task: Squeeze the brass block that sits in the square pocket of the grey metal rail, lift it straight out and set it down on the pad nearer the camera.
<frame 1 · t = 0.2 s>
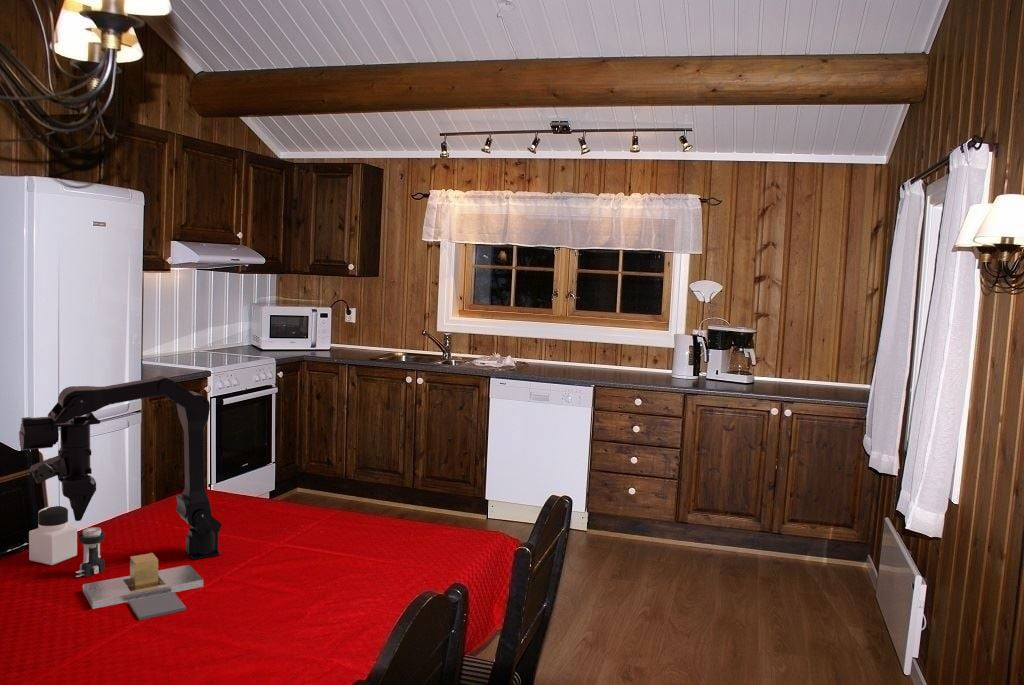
hand: (76, 514, 179), 14 cm above the table, fingers open, 9 cm apart
rail: (144, 589, 176), on the table
push button: (89, 574, 182), on the table
medicine bottle: (53, 558, 190), on the table
brass block: (144, 573, 175), in the rail
pad: (157, 606, 168), on the table
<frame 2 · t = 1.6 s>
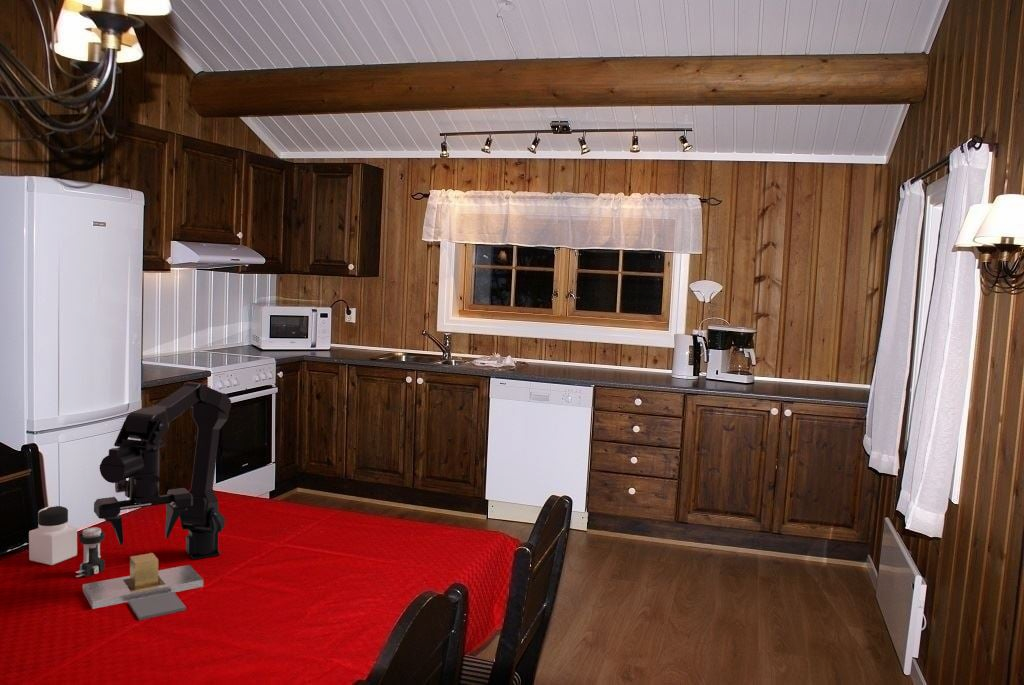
hand: (144, 541, 175), 11 cm above the table, fingers open, 9 cm apart
nothing on the table moved.
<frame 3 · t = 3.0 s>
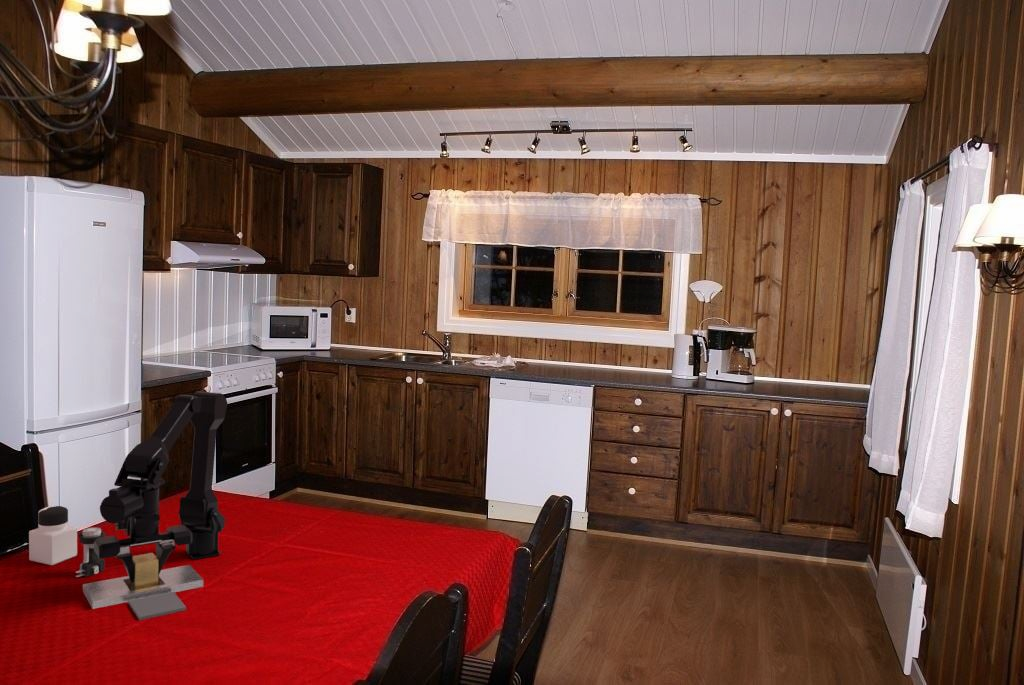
hand: (144, 579, 176), 2 cm above the table, fingers closed on brass block, 5 cm apart
brass block: (144, 573, 175), in the rail, touching gripper
everything else where it was.
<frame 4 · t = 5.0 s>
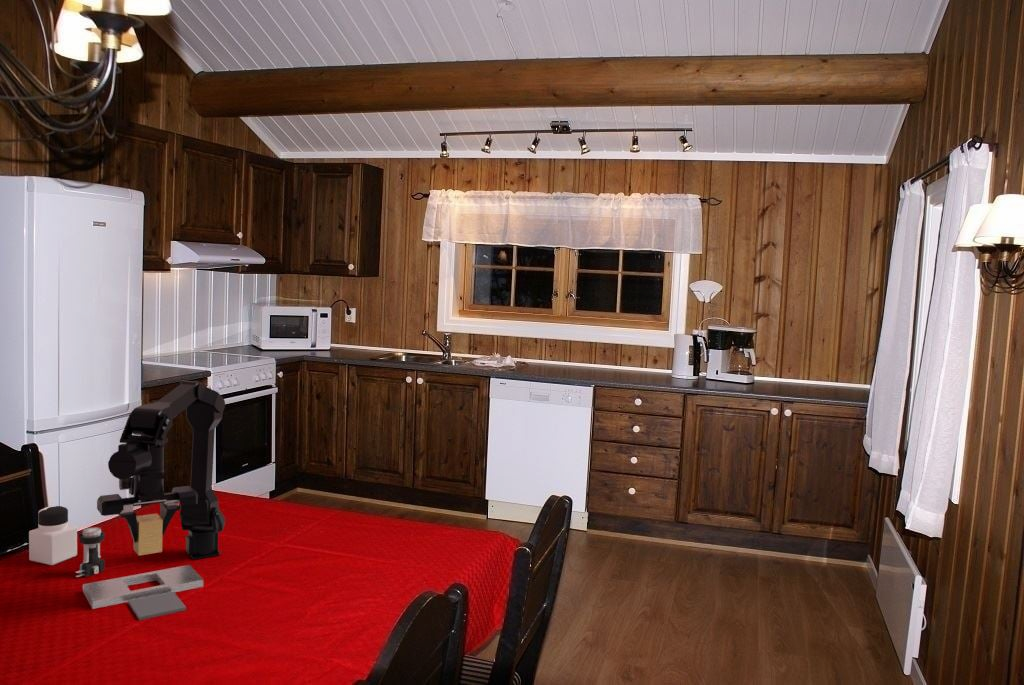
hand: (147, 540, 171), 12 cm above the table, fingers closed on brass block, 5 cm apart
brass block: (148, 534, 171), point 14 cm above the table, touching gripper
everything else where it was.
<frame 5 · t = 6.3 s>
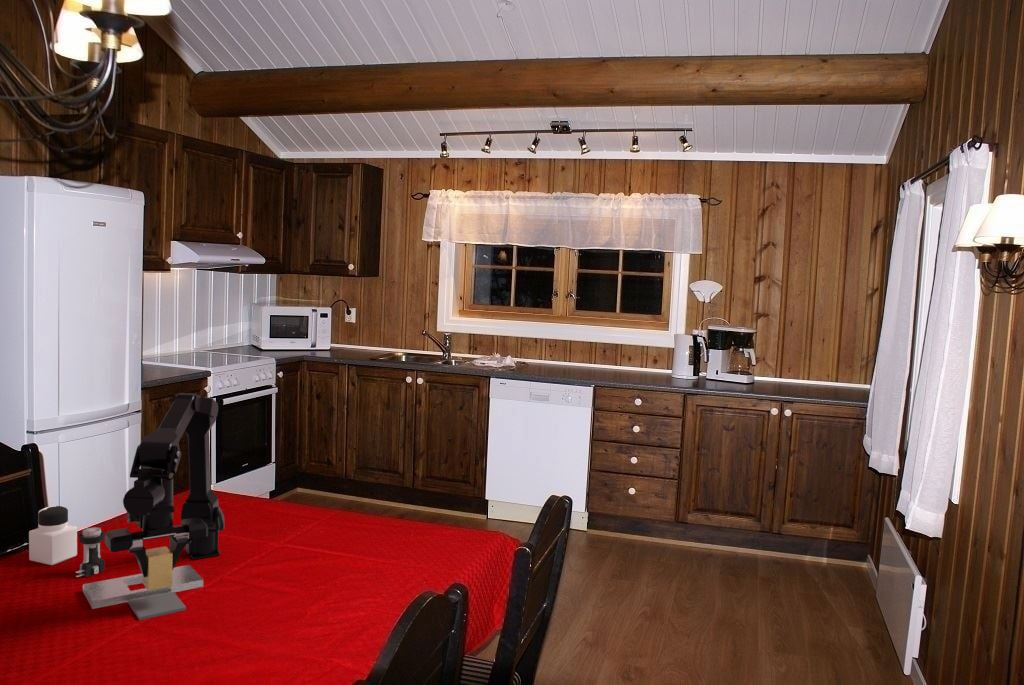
hand: (157, 574, 167), 7 cm above the table, fingers closed on brass block, 5 cm apart
brass block: (157, 568, 167), point 8 cm above the table, touching gripper
everything else where it was.
when the fingers open (4 cm above the table, at t = 7.1 s): brass block drops 2 cm, resting on pad.
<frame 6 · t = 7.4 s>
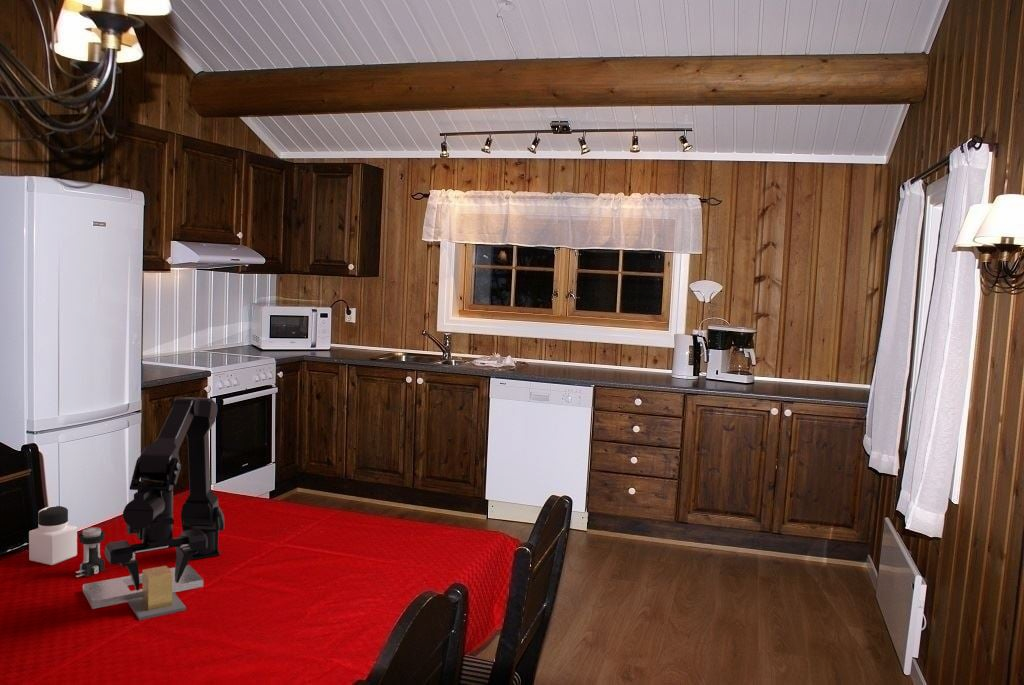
hand: (157, 585, 167), 4 cm above the table, fingers open, 7 cm apart
brass block: (157, 587, 167), on the pad, point 4 cm above the table
everything else where it was.
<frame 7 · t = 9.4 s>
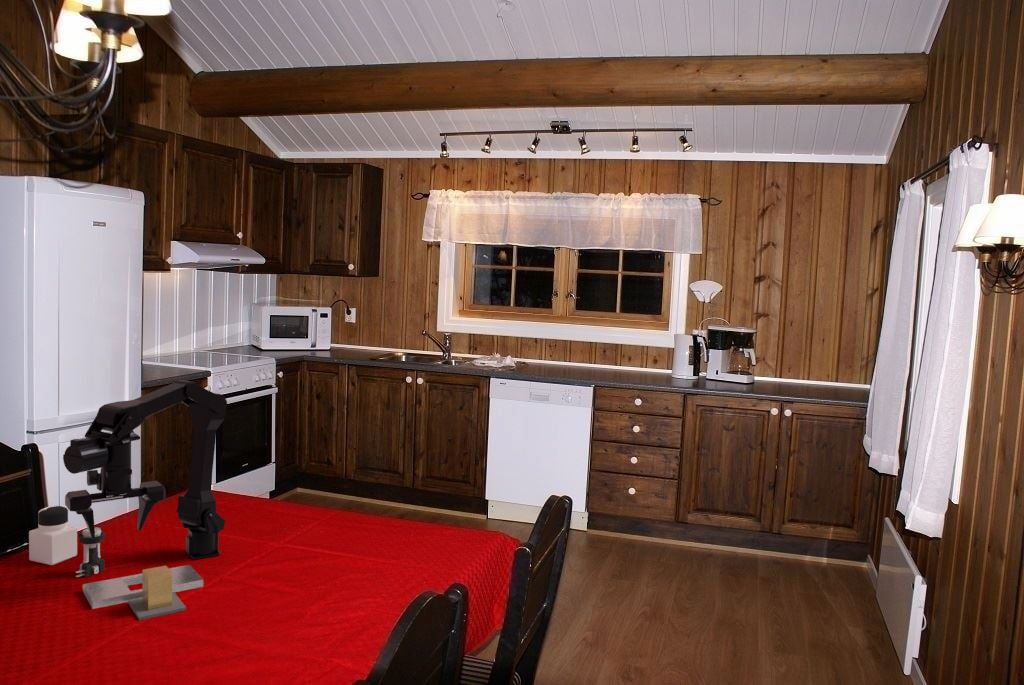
hand: (116, 534, 175), 12 cm above the table, fingers open, 9 cm apart
nothing on the table moved.
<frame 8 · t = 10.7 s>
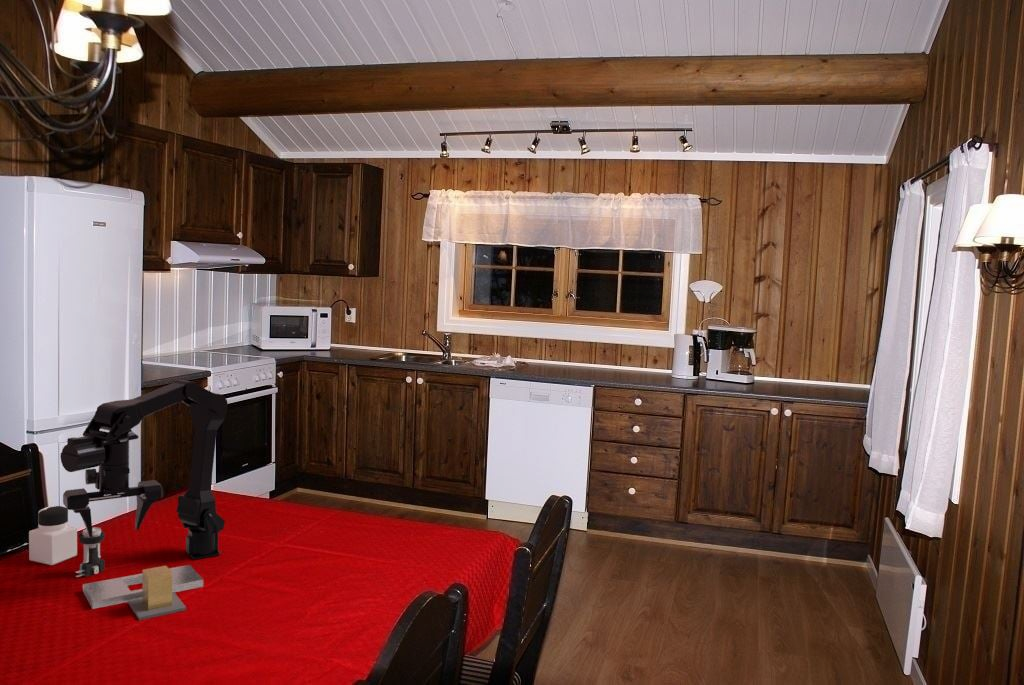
hand: (114, 533, 175), 12 cm above the table, fingers open, 9 cm apart
nothing on the table moved.
at the end: brass block inside the target area on the pad (0.0 cm from its centre), point 4.1 cm above the pad's base; brass block tilted 0°; the gripper is holding nothing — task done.
